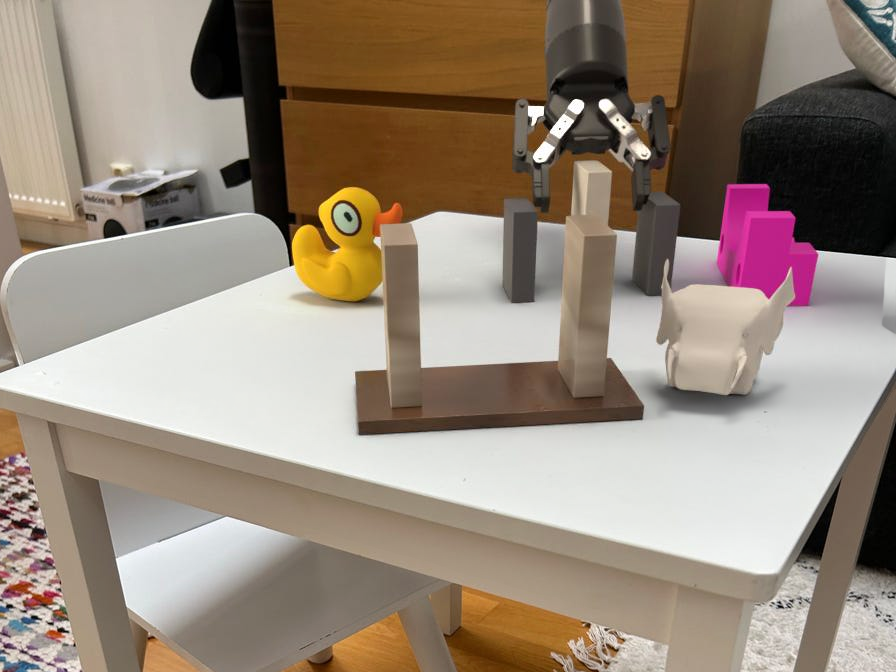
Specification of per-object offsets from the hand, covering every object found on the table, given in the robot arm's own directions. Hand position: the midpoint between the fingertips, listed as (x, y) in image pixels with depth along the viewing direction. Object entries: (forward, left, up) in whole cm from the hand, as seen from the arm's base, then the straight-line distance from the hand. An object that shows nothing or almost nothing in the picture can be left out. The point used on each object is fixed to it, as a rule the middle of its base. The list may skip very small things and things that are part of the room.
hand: (592, 206), depth 91 cm
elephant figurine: (-14, +22, -8) cm, 28 cm away
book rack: (0, +29, -8) cm, 30 cm away
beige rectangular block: (0, -1, -8) cm, 8 cm away
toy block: (-15, -8, -8) cm, 19 cm away
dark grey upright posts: (0, -1, -8) cm, 8 cm away
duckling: (+21, +8, -8) cm, 24 cm away
